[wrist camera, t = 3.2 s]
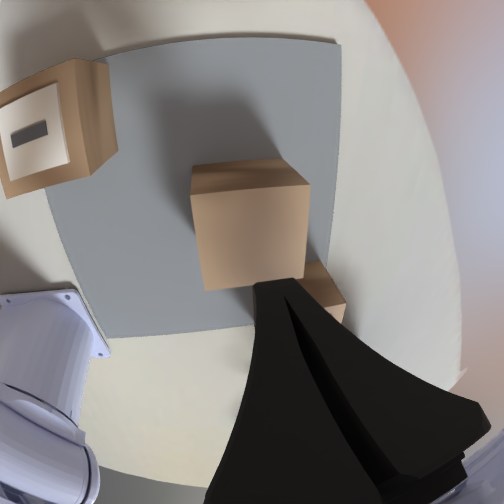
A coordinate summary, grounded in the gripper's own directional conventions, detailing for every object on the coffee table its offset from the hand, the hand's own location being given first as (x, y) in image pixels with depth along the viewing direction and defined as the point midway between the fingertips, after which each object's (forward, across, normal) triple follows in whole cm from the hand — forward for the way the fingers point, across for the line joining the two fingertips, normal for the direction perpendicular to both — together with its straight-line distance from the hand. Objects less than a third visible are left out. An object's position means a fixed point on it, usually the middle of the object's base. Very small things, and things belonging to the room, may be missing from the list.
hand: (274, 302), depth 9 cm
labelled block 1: (+8, +9, -6) cm, 14 cm away
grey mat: (+9, +3, 0) cm, 9 cm away
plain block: (+8, 0, 0) cm, 8 cm away
